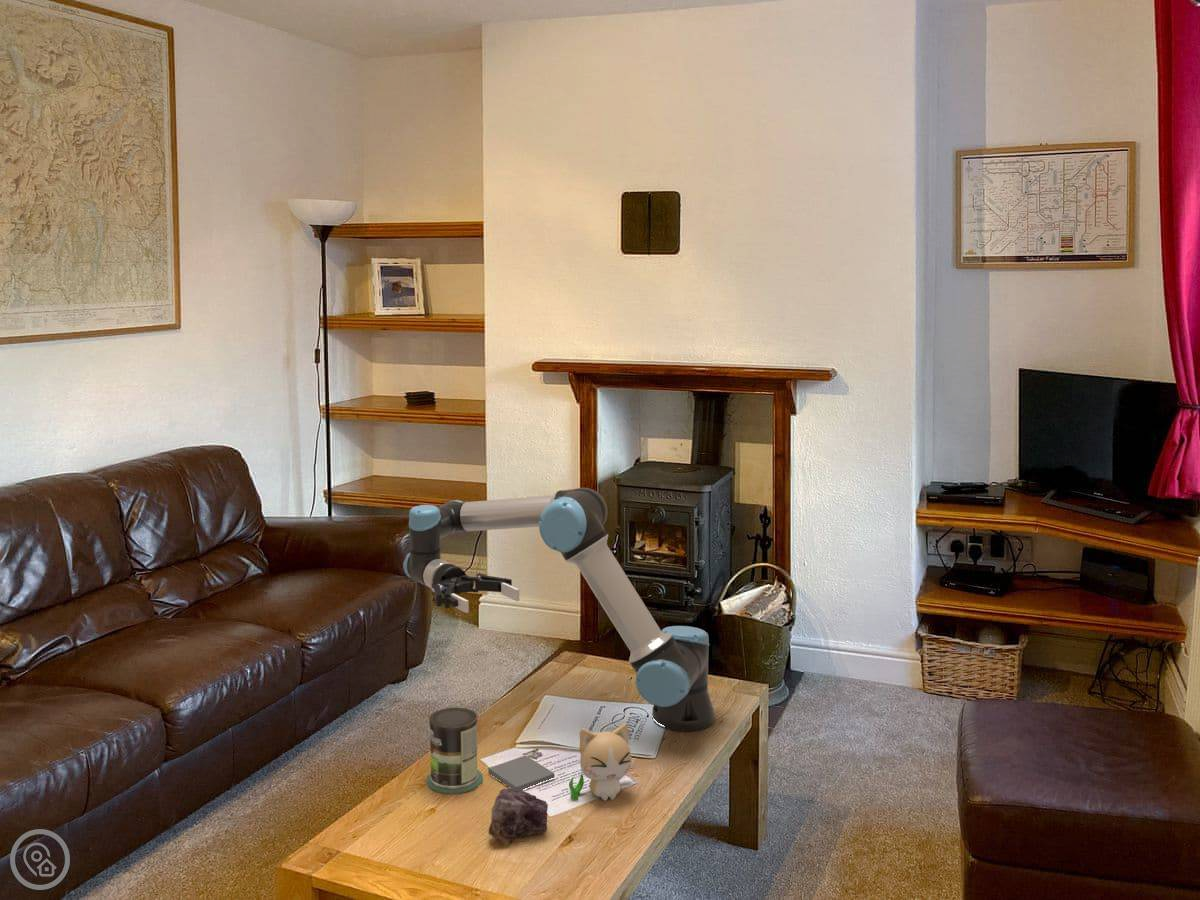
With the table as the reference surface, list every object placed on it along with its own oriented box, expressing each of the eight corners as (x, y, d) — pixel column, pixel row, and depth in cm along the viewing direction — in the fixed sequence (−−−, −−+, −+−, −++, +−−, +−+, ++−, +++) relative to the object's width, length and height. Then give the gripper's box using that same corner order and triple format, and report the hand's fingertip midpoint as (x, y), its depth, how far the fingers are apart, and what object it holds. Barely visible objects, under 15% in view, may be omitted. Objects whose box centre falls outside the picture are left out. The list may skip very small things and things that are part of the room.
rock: (548, 845, 219) (533, 819, 229) (555, 805, 218) (539, 781, 227) (491, 848, 215) (478, 821, 224) (498, 807, 214) (484, 782, 223)
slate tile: (488, 768, 246) (516, 787, 237) (525, 755, 252) (554, 773, 243) (488, 775, 246) (516, 794, 237) (525, 762, 252) (554, 781, 244)
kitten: (575, 810, 230) (575, 742, 228) (563, 787, 240) (563, 722, 237) (644, 800, 235) (644, 733, 232) (629, 778, 244) (630, 714, 241)
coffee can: (438, 793, 236) (437, 730, 233) (424, 772, 245) (423, 712, 242) (484, 783, 240) (484, 722, 237) (469, 763, 249) (468, 703, 247)
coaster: (494, 778, 244) (494, 775, 244) (455, 799, 234) (455, 797, 234) (454, 762, 251) (454, 760, 251) (415, 782, 241) (415, 780, 241)
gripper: (489, 583, 278) (538, 605, 261) (399, 603, 263) (445, 628, 246) (489, 554, 276) (538, 575, 260) (398, 572, 261) (444, 595, 245)
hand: (493, 601), depth 253 cm, fingers open, 13 cm apart
